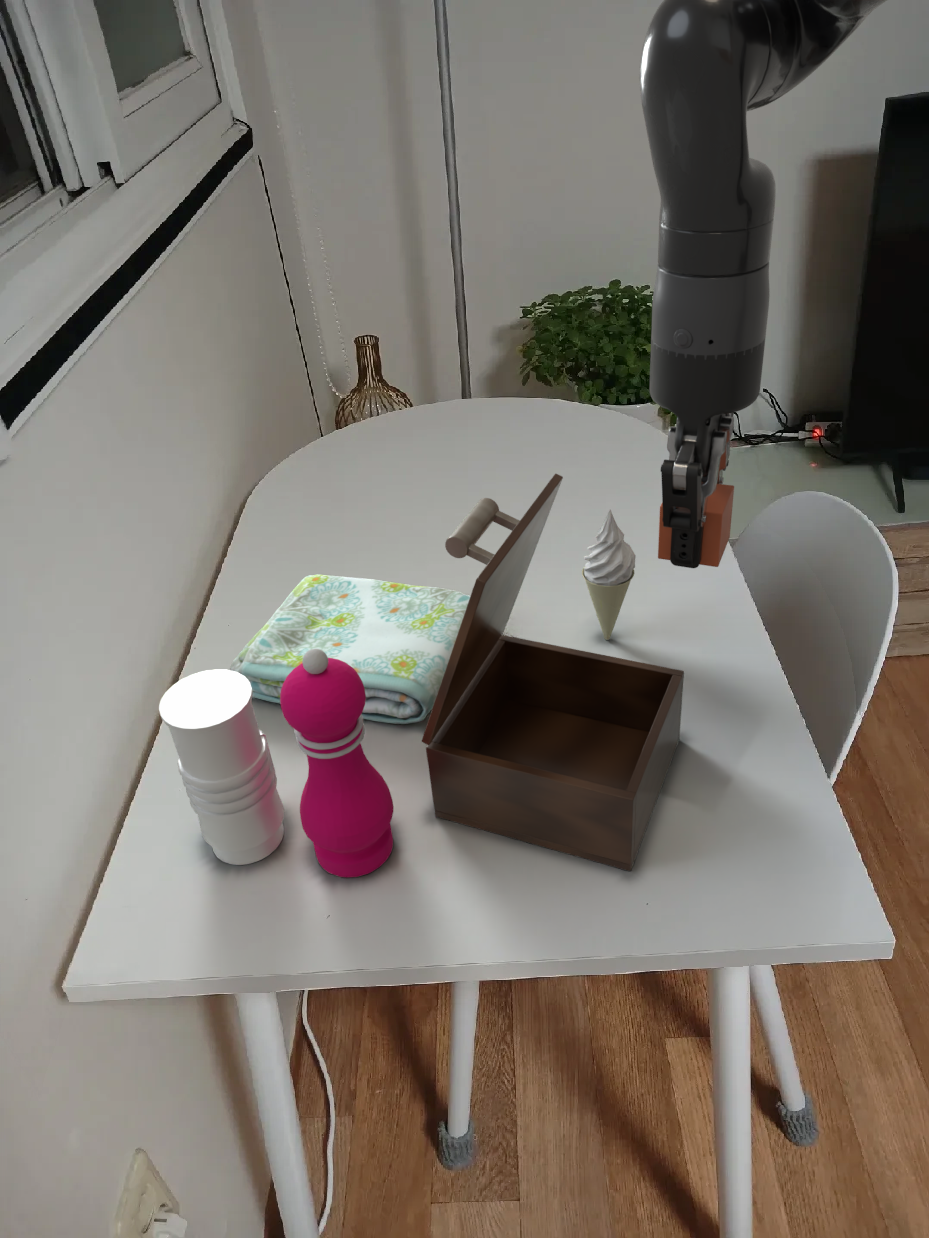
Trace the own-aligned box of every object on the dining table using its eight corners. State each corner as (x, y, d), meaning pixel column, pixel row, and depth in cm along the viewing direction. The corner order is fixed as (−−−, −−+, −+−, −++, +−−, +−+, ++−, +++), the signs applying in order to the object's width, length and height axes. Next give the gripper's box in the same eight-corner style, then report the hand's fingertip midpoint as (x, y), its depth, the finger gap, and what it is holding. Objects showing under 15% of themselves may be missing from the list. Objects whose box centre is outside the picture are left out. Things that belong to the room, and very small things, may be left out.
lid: (563, 476, 74) (509, 451, 74) (485, 583, 62) (422, 552, 63) (503, 632, 85) (457, 609, 86) (428, 746, 74) (376, 718, 75)
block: (729, 537, 75) (734, 485, 72) (718, 567, 71) (722, 514, 69) (671, 529, 77) (674, 478, 74) (657, 559, 73) (659, 506, 71)
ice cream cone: (620, 659, 94) (623, 527, 85) (573, 645, 96) (572, 515, 87) (640, 631, 97) (645, 502, 88) (595, 619, 100) (595, 491, 91)
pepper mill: (411, 821, 79) (380, 625, 67) (381, 891, 73) (342, 691, 61) (330, 807, 81) (287, 615, 69) (295, 874, 75) (241, 678, 63)
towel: (313, 597, 107) (306, 558, 104) (493, 623, 100) (490, 583, 97) (229, 699, 93) (217, 658, 90) (430, 738, 87) (425, 695, 84)
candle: (306, 833, 78) (271, 694, 70) (235, 883, 75) (188, 743, 66) (260, 792, 83) (221, 656, 74) (190, 838, 79) (141, 700, 70)
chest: (679, 739, 84) (684, 670, 79) (630, 871, 73) (633, 800, 68) (505, 700, 90) (500, 634, 86) (434, 816, 79) (425, 747, 74)
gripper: (745, 374, 58) (723, 605, 67) (782, 300, 68) (758, 510, 78) (624, 365, 60) (620, 588, 70) (677, 295, 71) (667, 498, 81)
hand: (693, 546), depth 74 cm, fingers closed on block, 4 cm apart
